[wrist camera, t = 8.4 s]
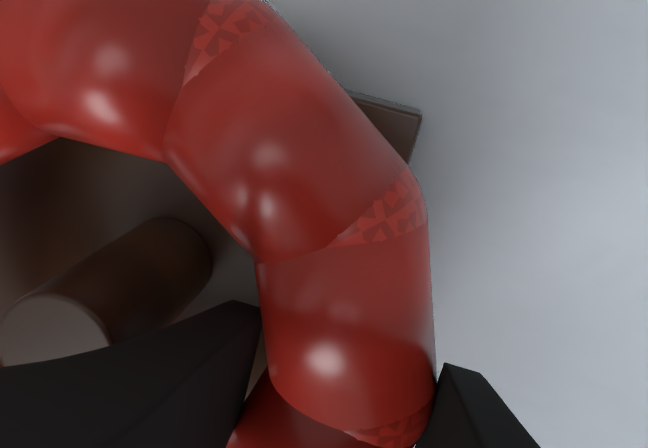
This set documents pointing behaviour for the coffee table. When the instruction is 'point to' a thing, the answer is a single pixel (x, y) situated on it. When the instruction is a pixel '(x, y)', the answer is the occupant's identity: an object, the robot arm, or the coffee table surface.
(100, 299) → the post
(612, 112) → the coffee table surface
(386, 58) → the coffee table surface
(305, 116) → the ring
